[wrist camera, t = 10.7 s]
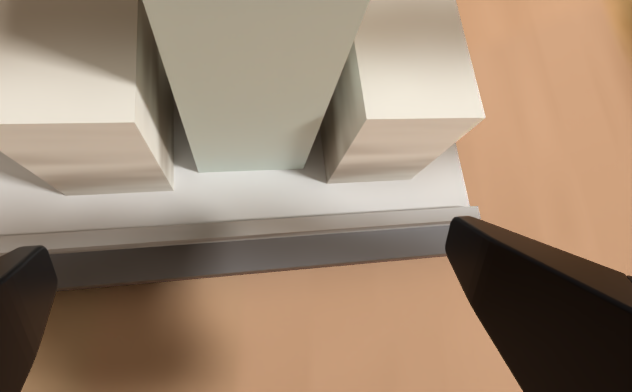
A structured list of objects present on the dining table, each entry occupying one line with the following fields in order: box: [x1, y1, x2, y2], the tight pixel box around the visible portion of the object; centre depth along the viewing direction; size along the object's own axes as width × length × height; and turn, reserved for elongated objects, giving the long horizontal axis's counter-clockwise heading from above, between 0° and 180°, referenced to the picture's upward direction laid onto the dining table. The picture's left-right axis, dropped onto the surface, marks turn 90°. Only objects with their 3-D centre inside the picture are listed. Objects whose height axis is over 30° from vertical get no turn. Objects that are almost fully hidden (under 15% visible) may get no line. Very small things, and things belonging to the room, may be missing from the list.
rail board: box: [0, 0, 486, 291], centre depth 15 cm, size 14×20×8 cm
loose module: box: [142, 0, 370, 173], centre depth 12 cm, size 6×4×11 cm
